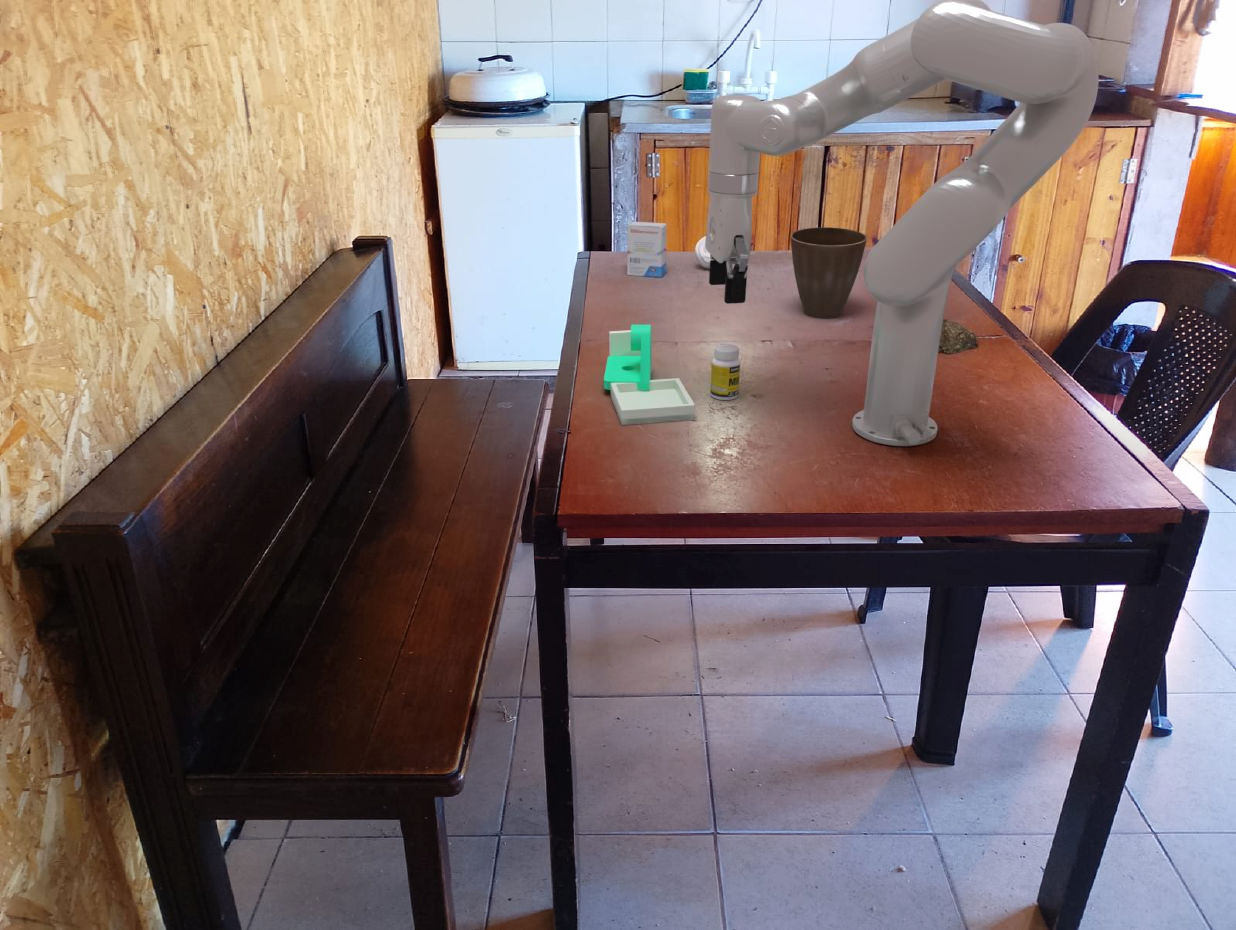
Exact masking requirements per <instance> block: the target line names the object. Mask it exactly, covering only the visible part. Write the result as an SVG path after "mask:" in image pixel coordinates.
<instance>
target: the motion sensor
mask: <svg viewBox="0 0 1236 930" xmlns="http://www.w3.org/2000/svg"><path fill="white" fill-rule="evenodd" d="M705 240H706V235H705V236H703V237H702V238H700V239H699V241H697V243H696V245H695V248H694V257H695V260H696V261H697V263H698V264H699V265H700V266H702V267H703V268H704V269H709V270H710V260H711V258H710V253H709V252H708V251H707V250H706V247H705Z"/></svg>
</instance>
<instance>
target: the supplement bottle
mask: <svg viewBox="0 0 1236 930" xmlns="http://www.w3.org/2000/svg"><path fill="white" fill-rule="evenodd" d="M739 348H740V347H739V346H737V345H736V344H730V343H722V344H716V346H714V352H713V353H714V357H713V358H712V359H711V366H710V367H711V368H710V369H711V371H710V372H711V373H710V392H709V393H710V396H711V397H712V398H714V399H716V400H718V401H719V400H720V401H732V400H735V399H737V398H738V397H739V394H740V393H739V392H740V378H741V376H740V374H741V358H739V356H740V349H739Z"/></svg>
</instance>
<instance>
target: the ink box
mask: <svg viewBox="0 0 1236 930" xmlns="http://www.w3.org/2000/svg"><path fill="white" fill-rule="evenodd" d="M667 227H668V225H667V223H663V222H650V221H649V222H648V221H632V222H631V223H629V224H627V227H626V262H627V263H626V274H627V276H635V277H648V278H662V277H664V275H665V274H666V273H667V232H668V231H667Z"/></svg>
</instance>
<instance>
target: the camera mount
mask: <svg viewBox="0 0 1236 930" xmlns="http://www.w3.org/2000/svg"><path fill="white" fill-rule="evenodd" d="M630 330H631V351H641V356H610V355H609V356H607V360H606V366H605V371H604V376H603V389H605V390H607V391H608V390H609V391H611V388H610V383H637V390H649V382H650V380H652V324H631V326H630Z"/></svg>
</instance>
